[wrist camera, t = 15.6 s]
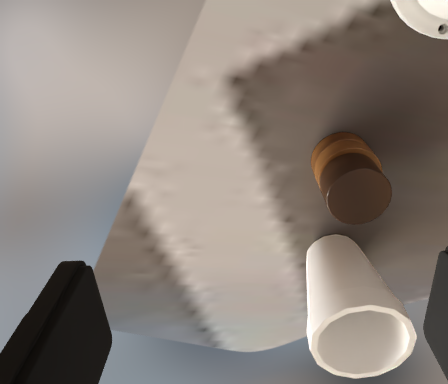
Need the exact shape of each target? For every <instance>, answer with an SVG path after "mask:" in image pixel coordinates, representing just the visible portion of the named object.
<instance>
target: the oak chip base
mask: <svg viewBox="0 0 448 384" xmlns="http://www.w3.org/2000/svg"><path fill="white" fill-rule="evenodd" d="M342 140H355V141H359V142H362V143H364V144H365V145H367V144H366V143H365V142H364V140H363V139H362V138H360V137H359V136H357V135H355V134H353V133H348V132H339V133H335V134H331V135H329V136H327V137H326V138H324V139H323V140H322V141H320V142H319V143H318V145H317V146H316V147H315V149H314V151H313V154H312V157H311V166H312V170H313V172H314V175H315V164H316V161H317V159H318V157H319V155H320V154H321V153H322V152H323V151H324V150H325V149H326V148H327V147H328V146H330V145H331V144H333V143H336V142H338V141H342ZM367 146H368V145H367Z"/></svg>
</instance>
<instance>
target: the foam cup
mask: <svg viewBox="0 0 448 384" xmlns="http://www.w3.org/2000/svg"><path fill="white" fill-rule="evenodd" d="M306 271H307V300H308V323H307V336H308V341H309V347H310V351H311V353H312V355H313V357H314V358H315V360H316V362H317V364H318V365H319V366H321V367H322V368H324V369H326V370H327V371H329V372H331V373H332V374H334V375H339V376H344V377H351V378H363V377H370V376H377V375H380V374H383V373H385V372H387V371H389V370H391V369H394V368H396V367H398V366H399V365H400V364H401V363H402V362H403V361H404V360H405V359H406V358H407V357H408V356H409V355H410V354H411V353H412V351H413V348H414V345H415V341H416V338H417V335H416V333H415V330H414V328H413V325H412V322H411V320H410V318H409V316H408V314H407V312H406V310H405V308H404V306H403V304H402V302H401V301H400V300H398V299H397V298H396V297H395V296H394V295H393V293H392V292H391V290H390V289H389V288H388V286H387V285H386V283H385V282H384V281H383V279H382V278H381V277H380V275H379V274H378V272H377V271H376V270H375V268H374V267H373V265H372V264H371V263H370V261H369V260H368V259H367V257H366V256H365V254H364V253H363V252H362V250H361V249H360V247H359V246H358V245H357V244H356V242H354V241H353V240H351V239H350V238H349V237H347V236H342V235H337V234H334V235H329V236H323V237H322V238H320V239H318V240H317V241H315V242H313V244H312V245H311V247H310V248H309V249H308V251H307V259H306Z"/></svg>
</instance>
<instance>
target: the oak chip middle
mask: <svg viewBox="0 0 448 384" xmlns="http://www.w3.org/2000/svg"><path fill="white" fill-rule="evenodd" d="M347 153H359V154H363V155H366V156H368V157H369V158H371V159H372V160H373V161H374V162H375V164H376V165H377V166H378V167H379V169H380V170H381V171H382V166H381V163H380V161H379V159H378V158H377V157H376V155H375V154H374V153H373V152H372V150H371V149H370V148H369V147H368V146H367V145H365V144H364V143H362V142H359V141H355V140H342V141H338V142H336V143H333V144H331V145H330V146H328V147H327V148H326V149H325V150H324V151H323V152H322V153H321V154H320V155H319V157H318V159H317V161H316V164H315V177H316V180H317V182H318V185H319V187H320V184H319V182H320V176H321V173H322V171H323V169H324V168H325V166H326V165H327V164H328V163H329V162H330V161H331V160H333V159H334V158H336V157H338V156H340V155H343V154H347ZM320 190H321V189H320Z"/></svg>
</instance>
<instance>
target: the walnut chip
mask: <svg viewBox="0 0 448 384" xmlns="http://www.w3.org/2000/svg"><path fill="white" fill-rule="evenodd" d="M319 184H320V189H321V192H322V195H323V197H324V200H325V202H326V205H327V207H328V210H329V212H330V213H331V214H332V216H333V217H335V218H336V219H337V220H339V221H341V222H343V223H346V224H363V223H367V222H370V221H372V220H374V219H376V218H377V217H378V216H380V215H381V214H382V213H383V212H384V211H385V210H386V208H387V207H388V205H389V203H390V200H391V195H392V190H391V185H390V183H389V181H388V179H387V178H386V177H385V175H384V174H383V173H382V171H381V170H380V169H379V167H378V166H377V165H376V164H375V162H374V161H373V160H372V159H371V158H369V157H368V156H366V155H363V154H359V153H347V154H343V155H340V156H338V157H336V158H334V159H333V160H331V161H330V162H329V163H328V164H327V165H326V166H325V168H324V169H323V171H322V173H321V176H320V182H319Z"/></svg>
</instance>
